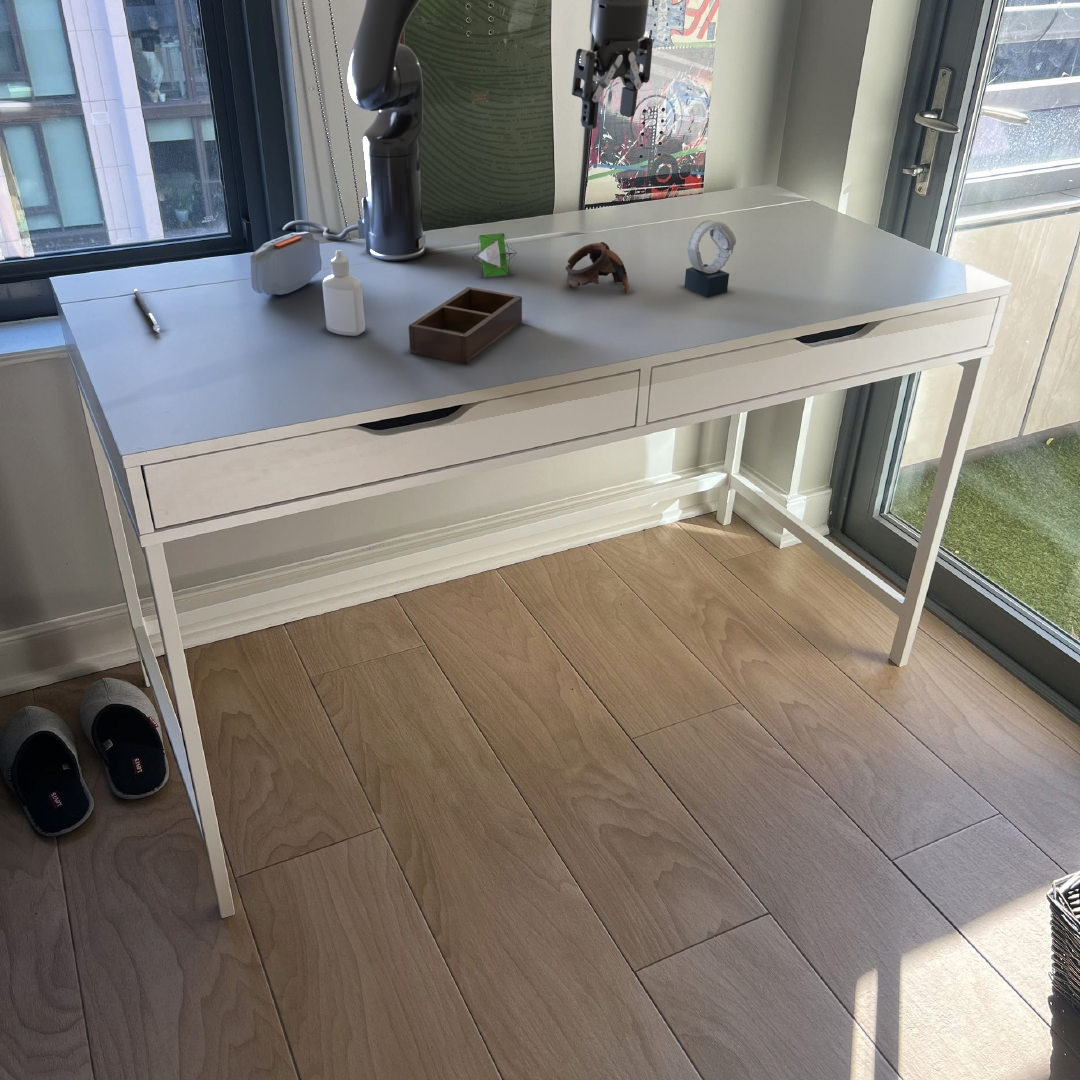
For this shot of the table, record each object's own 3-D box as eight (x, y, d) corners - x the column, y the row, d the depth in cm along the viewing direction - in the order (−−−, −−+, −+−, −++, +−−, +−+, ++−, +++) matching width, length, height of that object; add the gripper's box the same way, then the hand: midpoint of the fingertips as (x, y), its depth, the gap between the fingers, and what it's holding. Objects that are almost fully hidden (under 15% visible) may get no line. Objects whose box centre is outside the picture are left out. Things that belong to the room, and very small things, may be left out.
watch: (736, 290, 172) (744, 222, 166) (699, 299, 168) (706, 230, 162) (712, 280, 176) (719, 213, 170) (675, 289, 172) (681, 221, 166)
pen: (155, 334, 153) (154, 327, 152) (132, 292, 167) (131, 285, 167) (162, 333, 153) (160, 326, 153) (138, 291, 168) (137, 285, 167)
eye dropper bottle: (342, 340, 152) (334, 258, 146) (323, 328, 156) (315, 248, 150) (369, 333, 155) (362, 252, 148) (349, 322, 158) (342, 242, 152)
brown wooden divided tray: (409, 353, 149) (408, 325, 147) (468, 312, 162) (467, 286, 160) (467, 364, 146) (466, 336, 144) (522, 322, 159) (522, 296, 157)
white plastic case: (312, 273, 176) (307, 225, 172) (326, 277, 175) (321, 228, 170) (251, 300, 165) (244, 249, 161) (266, 303, 164) (259, 253, 160)
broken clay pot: (633, 302, 168) (611, 262, 163) (579, 323, 172) (556, 283, 166) (634, 260, 176) (613, 219, 171) (583, 280, 180) (561, 241, 174)
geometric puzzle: (465, 253, 179) (472, 223, 172) (504, 249, 181) (512, 220, 174) (475, 289, 177) (482, 261, 170) (514, 285, 179) (523, 257, 171)
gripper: (632, -16, 147) (618, 105, 157) (563, -3, 138) (554, 124, 148) (675, -5, 143) (659, 119, 153) (608, 9, 134) (595, 139, 145)
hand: (607, 121), depth 151 cm, fingers open, 8 cm apart
